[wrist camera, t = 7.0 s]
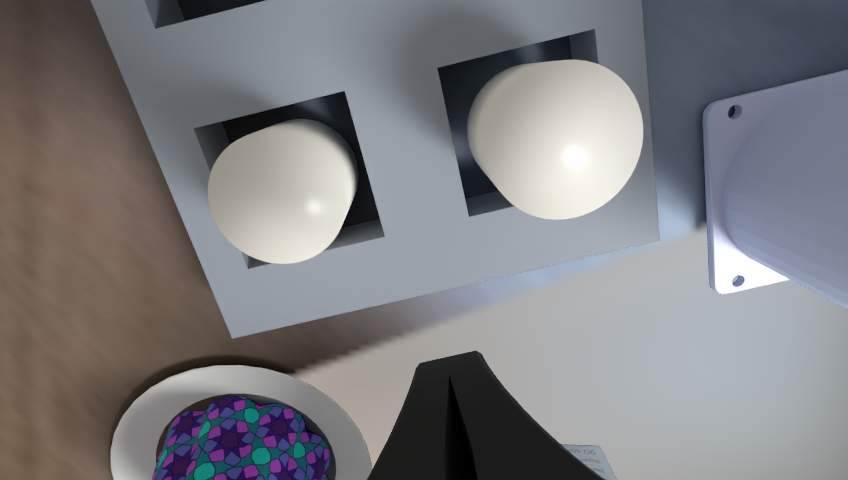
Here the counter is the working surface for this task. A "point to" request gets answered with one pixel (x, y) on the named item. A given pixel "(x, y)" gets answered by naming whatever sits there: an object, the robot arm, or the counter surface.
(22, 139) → the counter surface
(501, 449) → the robot arm
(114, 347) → the counter surface
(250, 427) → the pudding
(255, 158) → the button
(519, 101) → the button
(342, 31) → the board
